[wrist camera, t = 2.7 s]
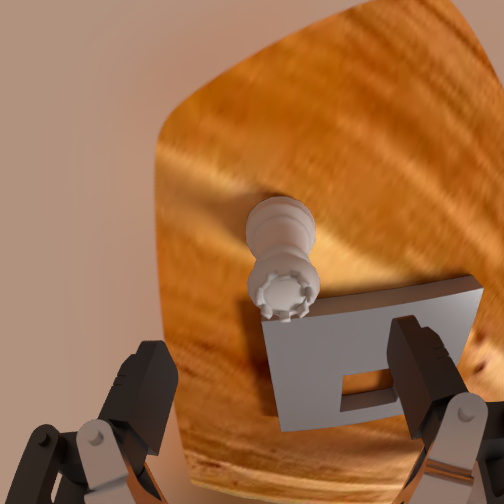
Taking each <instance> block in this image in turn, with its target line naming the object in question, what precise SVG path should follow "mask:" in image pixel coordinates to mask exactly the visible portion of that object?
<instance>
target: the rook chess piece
mask: <svg viewBox="0 0 504 504" xmlns="http://www.w3.org/2000/svg"><path fill="white" fill-rule="evenodd" d="M245 227H246V230H245V232H246V243H247V245H248V247H249V249H250V250H251V252H252V254H253V256H254V257H255V258H257V260H256V262H255V265H254V269H253V270H252V271H251V273H250V276H249V279H248V281H247V287H248V295H249V296H250V298H251V300H252V301H253V303H254V304H255V306H257V307H259V308H260V309H261V313H260V314H261V315H263V316H264V317H266V318H267V319H268V320H269V319H270V318H271V317H272V314H273V315H277V316H279V323H286V322H291V320H290V316H291V315H294V314H297V315H298V316H299V317H300V318H302V317H304V316H305V315H306V314H307V313H308V312H309V308H308V307H309V306H310V305H311V304H312V303H314V301H315V299H316V297H317V295H318V293H319V292H320V278H319V276H318V273H317V271H316V269H315V267H313V266H312V265H311V262H310V260H309V257H308V255H309V254H310V251H311V249H312V247H313V245H314V243H315V222H314V219H313V217H312V215H311V213H310V210H309V209H308V208H306V207H305V206H304V205H303V204H302V203H301V202H300V201H298V200H295V199H292V198H289V197H286V196H283V197H271V198H268V199H266V200H264V201H262V202H260V203H258V204H257V205H256V206H255V208H254V209H253V210H252V211H251V212H250V213H249V216H248V219H247V222H246V225H245Z"/></svg>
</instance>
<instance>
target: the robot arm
mask: <svg viewBox="0 0 504 504" xmlns="http://www.w3.org/2000/svg"><path fill="white" fill-rule="evenodd" d="M386 354H387V363H388V366H389V369H390V372H391V375H392V378H393V381H394V384H395V387H396V390H397V393H398V396H399V399H400V402H401V405H402V408H403V412H404V415H405V418H406V421H407V425H408V428H409V432H410V435H411V439H412V440H413V439H417V438H420V437H422V439H423V442H424V445H423V447H422V449H421V452H420V454H419V456H418V458H417V460H416V462H415V464H414V466H413V468H412V470H411V472H410V474H409V476H408V478H407V480H406V482H405V484H404V485H403V487H402V489H401V491H400V492H399V494H398V496H397V497H396V498H395V500H394V501H393V503H392V504H504V401H501V402H485V401H484V400H483V399H482V398H481V397H480V396H478V395H476V394H474V393H470V392H469V391H468V389H467V388H466V386H465V384H464V382H463V380H462V378H461V376H460V374H459V372H458V370H457V368H456V366H455V364H454V362H453V360H452V358H451V357H450V354H449V353H448V351H447V349H446V348H445V345H444V344H443V342H442V340H441V338H440V336H439V335H438V334H437V333H436V332H435V331H433V330H432V329H431V328H430V327H428V326H427V327H422V328H421V326H420V324H419V322H418V320H417V319H416V317H415V316H414V315H407V316H402V317H397V318H393V319H392V321H391V327H390V333H389V339H388V344H387V351H386ZM177 384H178V371H177V368H176V366H175V364H174V361H173V359H172V357H171V355H170V353H169V351H168V349H167V346H166V344H165V343H164V342H163V341H161V340H160V341H159V340H158V341H142V342H141V344H140V346H139V348H138V350H137V353H136V354H131V355H130V356H129V357H128V358H127V359H126V360H125V362H124V363H123V364H122V365H121V368H120V370H119V372H118V374H117V377H116V378H115V381H114V383H113V386H112V387H111V389H110V392H109V394H108V396H107V398H106V400H105V403H104V405H103V407H102V410H101V412H100V414H99V417H98V418H97V419H95V420H91V421H88V422H87V423H85V424H84V425H83V426H82V427H81V428H80V429H79V431H77V432H67V433H60V432H59V431H58V430H57V429H56V428H55V427H53V426H52V425H49V424H44V425H41V426H39V427H38V428H36V429H35V430H34V431H33V433H32V434H31V436H30V439H29V441H28V443H27V446H26V449H25V451H24V453H23V455H22V458H21V460H20V463H19V465H18V468H17V471H16V473H15V476H14V479H13V481H12V485H11V487H10V490H9V493H8V496H7V499H6V502H5V504H168V502H167V501H166V499H165V497H164V495H163V494H162V492H161V490H160V488H159V486H158V485H157V483H156V481H155V479H154V477H153V475H152V473H151V471H150V469H149V467H148V465H147V463H146V462H145V459H146V456H147V454H148V455H155V456H158V454H159V450H160V447H161V442H162V439H163V435H164V432H165V427H166V424H167V420H168V417H169V413H170V409H171V406H172V402H173V399H174V395H175V392H176V388H177ZM58 472H59V473H60V474H62V478H61V481H60V484H59V488H58V491H57V494H56V497H55V501H54V503H52V500H51V493H52V490H53V486H54V483H55V480H56V477H57V474H58Z"/></svg>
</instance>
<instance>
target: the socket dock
mask: <svg viewBox="0 0 504 504" xmlns="http://www.w3.org/2000/svg"><path fill="white" fill-rule="evenodd" d="M483 289H484V288H483V286H482V285H481V284H480V283H479V282H478V281H477V280H476V279H475V278H474V276H473V275H470V276H465V277H460V278H454V279H449V280H443V281H438V282H432V283H426V284H420V285H414V286H408V287H402V288H395V289H389V290H382V291H375V292H368V293H361V294H353V295H345V296H338V297H329V298H321V299H315V301H314V303H312V304H311V305H310V306H309V307H308V308H309V312H308V313H307V314H306V315H305V316H304V317H302V318H300V317H299V316H298V315H297V314H294V315H291V316H290V320H291V322H286V323H279V316H277V315H273V314H272V317H271V318H270V319H269V320H268V319H267V318H266V317H264V316H263V315H262V320H261V322H262V328H263V333H264V339H265V345H266V350H267V356H268V361H269V367H270V372H271V378H272V383H273V389H274V394H275V400H276V405H277V411H278V416H279V422H280V427H281V432H288V431H301V430H311V429H321V428H329V427H336V426H343V425H350V424H356V423H362V422H367V421H373V420H378V419H383V418H387V417H392V416H396V415H401V414H404V412H403V408H402V405H401V402H400V399H399V396H398V393H397V390H396V387H395V384H394V382H393V386H392V388H387V389H382V390H376V391H371V392H365V393H359V394H353V395H347V396H341V395H342V385H343V376H346V375H352V374H359V373H365V372H371V371H376V370H382V369H387V368H389V366H388V363H387V354H386V351H387V344H388V339H389V333H390V327H391V321H392V319H393V318H397V317H402V316H407V315H414V316H415V317H416V319H417V320H418V322H419V324H420V326H421V328H422V327H427V326H428V327H430V328H431V329H432V330H433V331H435V332H436V333H437V334H438V335H439V336H440V338H441V340H442V342H443V344H444V345H445V348H446V349H447V351H448V353H449V354H450V357H451V358H452V360H453V362H454V364H455V366H456V367H457V364H458V362H459V359H460V357H461V354H462V352H463V349H464V347H465V344H466V342H467V339H468V336H469V333H470V331H471V328H472V325H473V322H474V319H475V316H476V313H477V309H478V306H479V303H480V299H481V296H482V292H483Z"/></svg>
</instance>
